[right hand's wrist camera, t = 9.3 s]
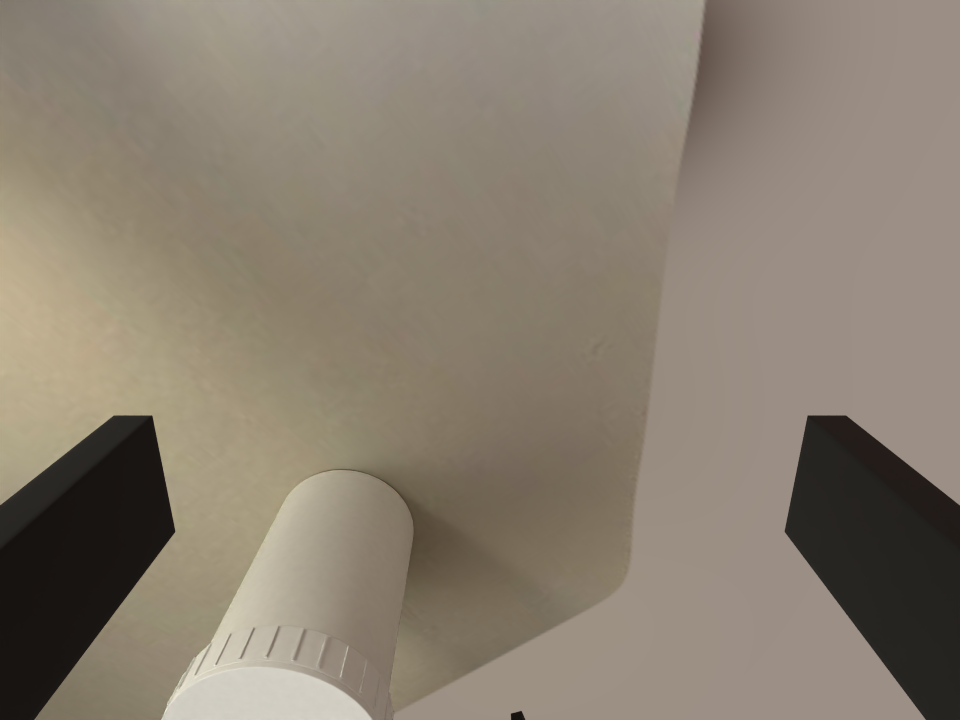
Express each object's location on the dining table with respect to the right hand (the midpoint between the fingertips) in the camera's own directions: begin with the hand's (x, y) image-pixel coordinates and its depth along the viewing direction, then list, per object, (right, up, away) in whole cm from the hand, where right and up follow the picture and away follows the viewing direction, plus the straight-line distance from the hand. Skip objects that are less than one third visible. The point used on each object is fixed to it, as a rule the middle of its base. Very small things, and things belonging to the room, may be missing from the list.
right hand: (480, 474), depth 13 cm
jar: (-9, -9, +30) cm, 33 cm away
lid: (-9, -15, +15) cm, 23 cm away
